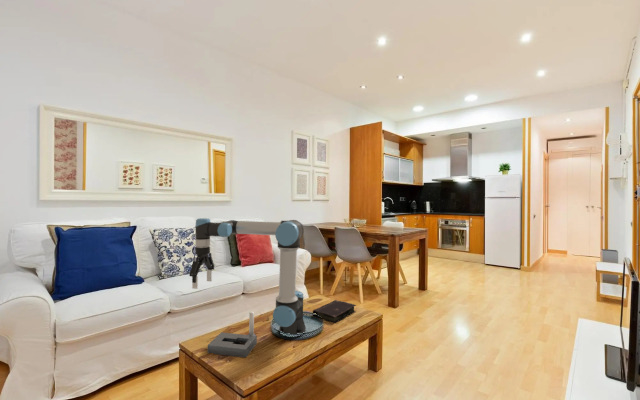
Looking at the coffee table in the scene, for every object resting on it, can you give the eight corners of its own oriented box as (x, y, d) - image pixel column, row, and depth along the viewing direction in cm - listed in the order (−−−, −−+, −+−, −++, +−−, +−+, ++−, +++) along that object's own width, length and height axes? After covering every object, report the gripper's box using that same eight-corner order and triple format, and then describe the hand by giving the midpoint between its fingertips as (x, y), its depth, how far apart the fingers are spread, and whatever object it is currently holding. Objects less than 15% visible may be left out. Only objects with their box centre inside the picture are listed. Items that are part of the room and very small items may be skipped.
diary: (312, 317, 198) (312, 309, 198) (334, 306, 218) (334, 299, 218) (335, 324, 187) (335, 316, 187) (357, 312, 206) (357, 305, 206)
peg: (256, 336, 168) (257, 311, 168) (253, 340, 164) (254, 314, 163) (249, 335, 169) (249, 310, 169) (245, 339, 165) (246, 314, 164)
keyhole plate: (256, 343, 161) (256, 335, 161) (246, 357, 147) (246, 349, 147) (221, 339, 164) (221, 332, 164) (207, 353, 150) (207, 345, 150)
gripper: (209, 242, 181) (208, 278, 182) (182, 250, 157) (181, 291, 158) (220, 243, 180) (220, 278, 181) (195, 251, 156) (195, 292, 156)
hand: (202, 284), depth 169 cm, fingers open, 13 cm apart
